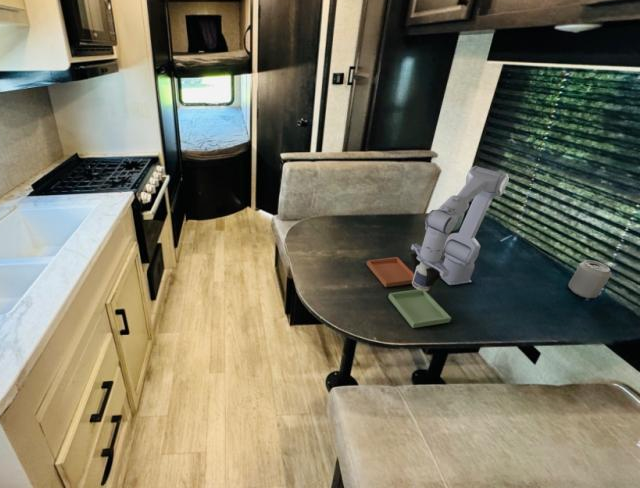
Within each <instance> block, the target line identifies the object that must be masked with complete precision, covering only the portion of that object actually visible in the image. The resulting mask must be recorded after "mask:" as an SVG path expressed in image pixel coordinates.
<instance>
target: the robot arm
mask: <svg viewBox="0 0 640 488" xmlns="http://www.w3.org/2000/svg"><path fill="white" fill-rule="evenodd" d="M509 179H510V177H509V174H508V173H503V172H500V171H497V170H492V169H489V168H484V167H482V166H479V165H474V166H472V167H471V168H470V169H469V170H468V172H467V173H466V177H465V184H464V185H463V187H462V188H461V190H460V191H459V192H458V193H457V194H455V195H454V194H453V195H451V196H449V198H447V199H446V200H445V202H443V204H441V205H440V206H439V207H438V208H437V209H432V210H430V211H429V212H428V214H427V216H426V218H425V221H424V224H425V228H424V230H425V234H424V237H423V241H422V244H421V245H420V244H418V243H412V244H411V247H410V250H411V251H415V252H414V253H411V254H410V258H411V261H412V266H413V273H415V270H416V267H417V265H419V264H420V262H424V263H426V264H428V265H430V266H431V267H433V268H429V269H426V271H427V279H426V286H427V287H428V286H430V287H433V285H435V283H436V282H437V281H438V280H439V279H442V280H443V281H444V282H445V283H446V284H447V285H448V286H454V285H462V284H469V283H472V280H471V278H472V275H473V273H474V270H475V268H476V267H475V266H476V265H475V261H477V259H478V257H479V254H480V250H481V244H480V242H479V241H478V240H477V239H476V236H477V233H478V231H479V228H480V226H481V224H482V222H483V220H484V218H485V216H486V213H487V211H488V209H489V207H490V205H491V203H492V201H493V200H494V198H495V197H501V196H502V195H503V193H504V192H505V190H506V187H507V186H508V183H509ZM470 202H471V204H470V205H469V203H470ZM469 206H470V207H469ZM466 211H467V212H466ZM463 213H466V216H465V218H464V219H463V221H462V223H461V225H460V228H459V231H458V232H454V233H451V232H453V231H452V230H453V228H454V227H455V225H456V223H457V222H458V218H459V217H460V216H461V215H462V214H463ZM443 253H444V254H443ZM442 255H444V259H443V260H442Z"/></svg>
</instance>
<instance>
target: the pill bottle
mask: <svg viewBox="0 0 640 488" xmlns="http://www.w3.org/2000/svg"><path fill="white" fill-rule="evenodd" d="M429 268H433V267H431V266H430V265H428V264H426V263H424V262H420V264H419V265H417V267H416V270H415V273H414V272H413V273H414V277H413V280H412V284H411V285H412V287H413V288H414V289H415V290H417V289H418V290H421V291H426V292H428V291H429V290H431V289H430V288H431V286H428V287H427V286H426V279H427V271H426V269H429Z"/></svg>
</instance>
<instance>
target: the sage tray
mask: <svg viewBox="0 0 640 488" xmlns="http://www.w3.org/2000/svg"><path fill="white" fill-rule="evenodd" d="M388 300H389V301H390V302H391V303H392V304H393V306H394V307H395V308H396V309H397V311H398V312H399V314H401V315H402V317H403V318H404V319H405V320H406V322H407V323H408V324H409V326H411V328H412V329H415V328H422V327H428V326H434V325H440V324H447V323H450V322H451V320H452V316H451V315H449V313H448V312H447V311H445V309H444V308H443V307H442V306H440V304H438V302H437V301H436V300H435V299H434V298H433V297H432V296H431V295H430V294H429V293H428V291H421V290H418V289H409V290H402V291H395V292H390V293H389V294H388Z"/></svg>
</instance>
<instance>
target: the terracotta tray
mask: <svg viewBox="0 0 640 488" xmlns="http://www.w3.org/2000/svg"><path fill="white" fill-rule="evenodd" d="M366 266H367V267H368V268H369V270H370V271H371V272H372V273H373V274H374V276H375V277H376V278H377V279H378V280H379V281H380V283H381V284H382V285H383V286H384V288H389V287H399V286H405V285H412V280H413V277H414V271H413V270H411V269H410V268H409V267H408V266H407V265H406V264H405V263H404V262H403V261H402V260H401V259H400V258H399V257H398V256H394V257H386V258H377V259H369V260H367V261H366Z"/></svg>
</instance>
